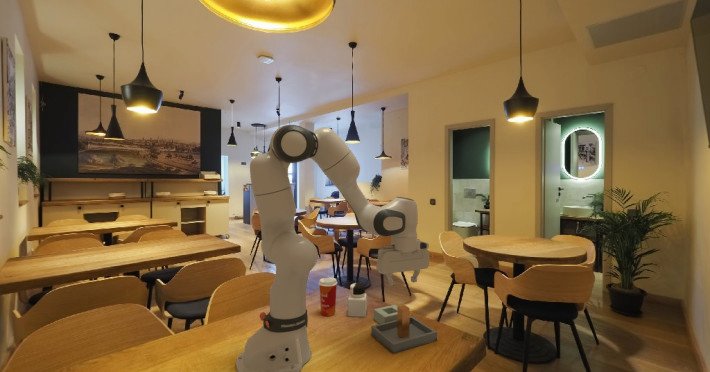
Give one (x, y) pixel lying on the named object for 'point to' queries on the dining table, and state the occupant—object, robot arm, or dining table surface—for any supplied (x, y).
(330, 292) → the paper cup
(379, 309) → the socket block
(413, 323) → the tray
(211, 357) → the dining table surface
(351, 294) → the medicine bottle
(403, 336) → the pin
